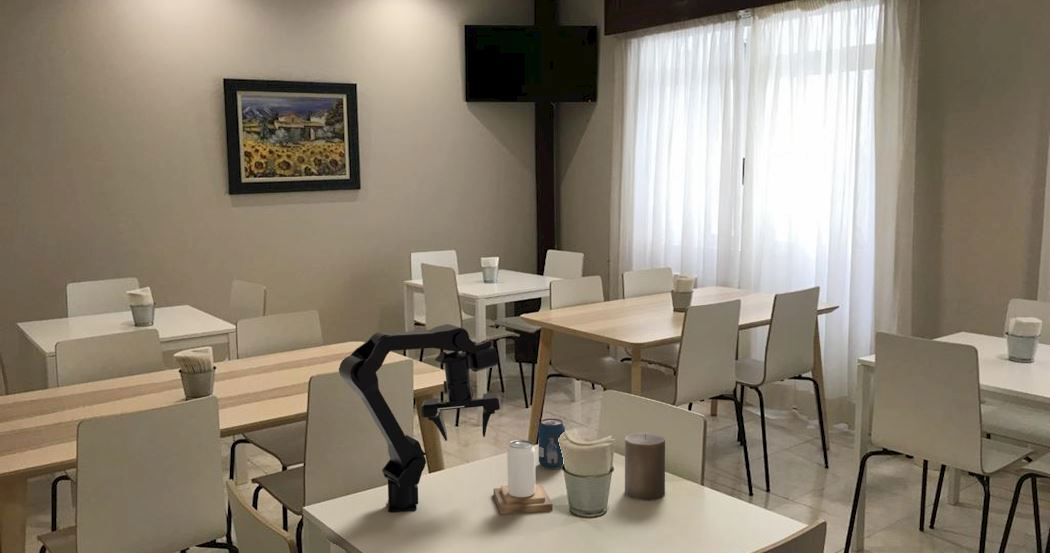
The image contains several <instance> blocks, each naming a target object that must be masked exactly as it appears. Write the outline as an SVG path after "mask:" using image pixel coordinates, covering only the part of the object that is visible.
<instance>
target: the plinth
mask: <svg viewBox="0 0 1050 553" xmlns="http://www.w3.org/2000/svg"><path fill="white" fill-rule="evenodd" d="M493 497H494V500H495V502H496V504H497V507H499V508H498V510H499V513H500V515H509V514H521V513H524V514H525V513H533V512H534V513H537V512H545V511H546V512H547V511H548V512H549V511H554V510H553V507H554V506H553V502H552V500H551V499H550V497H549V495H548V493H547V491H546V489H545V488H544V486H543V484H538V483H535V493H534V494H533V495H532V496H530V497H527V498H516V497H512V496H511V495H510V494H509V493H508V485H503V486H500V487H497V488H493Z"/></svg>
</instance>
